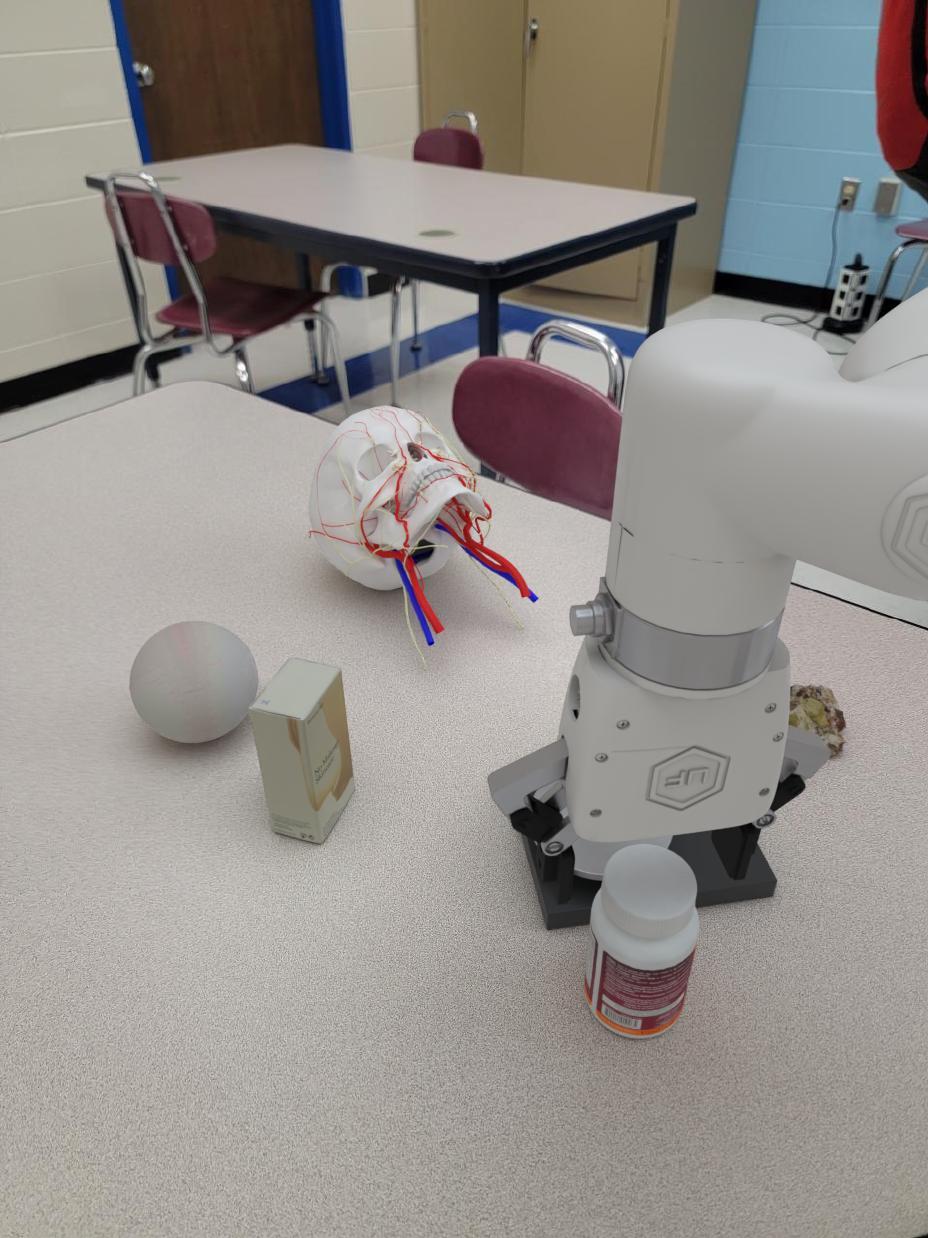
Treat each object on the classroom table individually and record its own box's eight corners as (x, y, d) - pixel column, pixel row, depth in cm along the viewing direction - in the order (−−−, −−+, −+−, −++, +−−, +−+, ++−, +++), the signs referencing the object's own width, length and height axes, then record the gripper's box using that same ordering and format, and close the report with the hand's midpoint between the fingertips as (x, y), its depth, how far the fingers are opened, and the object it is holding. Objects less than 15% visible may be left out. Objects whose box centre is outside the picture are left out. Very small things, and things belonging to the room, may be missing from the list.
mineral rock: (765, 663, 79) (861, 676, 74) (771, 703, 81) (864, 719, 76) (714, 735, 72) (816, 756, 67) (721, 778, 74) (820, 801, 69)
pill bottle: (703, 1017, 55) (732, 901, 48) (617, 1060, 53) (635, 945, 46) (645, 938, 60) (665, 822, 53) (564, 974, 58) (574, 858, 51)
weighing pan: (646, 763, 68) (646, 757, 67) (694, 869, 60) (695, 864, 59) (515, 780, 67) (515, 774, 66) (546, 891, 59) (547, 885, 58)
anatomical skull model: (416, 560, 70) (276, 398, 84) (404, 710, 83) (285, 550, 97) (577, 501, 77) (424, 361, 91) (543, 648, 91) (414, 507, 104)
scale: (701, 759, 73) (707, 727, 71) (773, 896, 62) (783, 863, 60) (507, 784, 71) (507, 752, 69) (546, 930, 60) (548, 897, 58)
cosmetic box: (322, 847, 66) (302, 723, 59) (270, 833, 67) (243, 710, 60) (358, 785, 71) (343, 664, 64) (309, 773, 72) (289, 653, 65)
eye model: (138, 706, 79) (110, 613, 73) (253, 677, 82) (235, 586, 76) (151, 783, 72) (121, 686, 66) (277, 748, 75) (259, 653, 69)
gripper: (509, 696, 35) (500, 953, 45) (919, 652, 37) (823, 907, 47) (477, 588, 41) (475, 837, 51) (832, 556, 43) (763, 801, 53)
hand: (642, 870), depth 49 cm, fingers open, 9 cm apart
